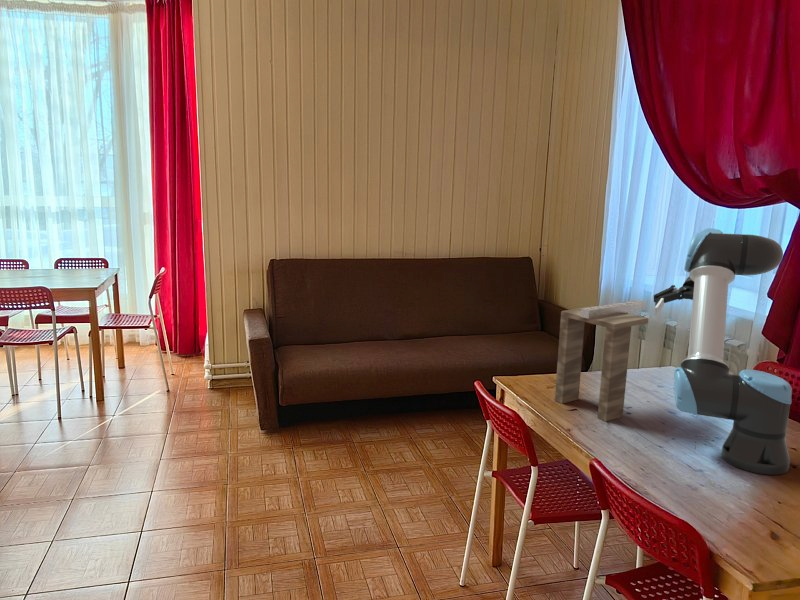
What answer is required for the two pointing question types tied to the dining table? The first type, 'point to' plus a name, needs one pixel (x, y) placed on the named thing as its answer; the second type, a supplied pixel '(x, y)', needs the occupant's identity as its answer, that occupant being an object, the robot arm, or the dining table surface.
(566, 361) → the striped wooden stand
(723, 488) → the dining table surface
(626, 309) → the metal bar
